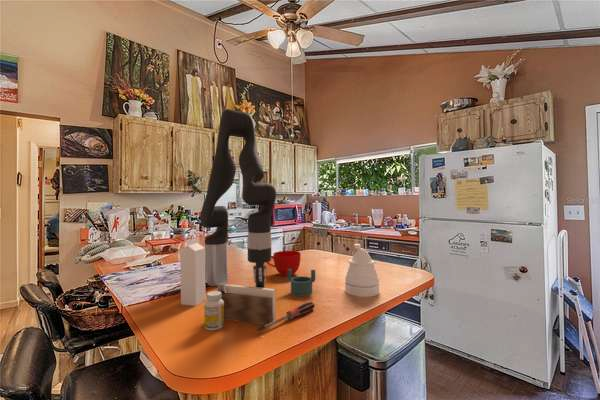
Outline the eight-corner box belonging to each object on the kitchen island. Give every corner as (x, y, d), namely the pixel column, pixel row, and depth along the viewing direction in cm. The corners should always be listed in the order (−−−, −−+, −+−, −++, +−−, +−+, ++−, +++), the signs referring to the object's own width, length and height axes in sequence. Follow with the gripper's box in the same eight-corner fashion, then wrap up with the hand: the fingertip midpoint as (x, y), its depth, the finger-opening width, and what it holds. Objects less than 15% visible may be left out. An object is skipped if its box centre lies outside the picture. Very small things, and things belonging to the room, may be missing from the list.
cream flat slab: (215, 314, 91) (215, 285, 91) (221, 311, 94) (220, 282, 94) (272, 322, 85) (272, 291, 84) (276, 318, 87) (275, 288, 87)
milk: (180, 304, 101) (179, 241, 100) (191, 298, 107) (189, 238, 106) (196, 306, 99) (194, 241, 99) (206, 299, 105) (204, 239, 105)
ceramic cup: (269, 270, 147) (269, 250, 147) (302, 271, 144) (302, 251, 144) (262, 277, 134) (262, 255, 134) (298, 278, 131) (298, 256, 131)
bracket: (317, 293, 111) (317, 270, 111) (296, 297, 106) (296, 273, 106) (305, 287, 119) (305, 265, 119) (285, 291, 114) (285, 268, 114)
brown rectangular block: (212, 317, 90) (212, 293, 89) (221, 312, 94) (220, 288, 94) (270, 325, 83) (269, 299, 83) (276, 319, 87) (276, 295, 87)
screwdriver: (259, 338, 76) (258, 327, 76) (251, 335, 78) (251, 323, 78) (317, 310, 95) (316, 301, 95) (310, 307, 97) (310, 298, 97)
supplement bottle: (211, 332, 79) (211, 297, 79) (200, 327, 83) (200, 293, 83) (227, 326, 83) (227, 292, 83) (217, 321, 87) (216, 289, 87)
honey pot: (338, 291, 113) (338, 245, 112) (356, 284, 122) (356, 241, 122) (368, 299, 104) (368, 249, 104) (385, 290, 113) (384, 244, 113)
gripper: (247, 242, 98) (247, 293, 98) (247, 250, 85) (247, 309, 85) (269, 242, 99) (269, 292, 100) (273, 249, 86) (273, 307, 87)
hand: (259, 299), depth 93 cm, fingers closed
